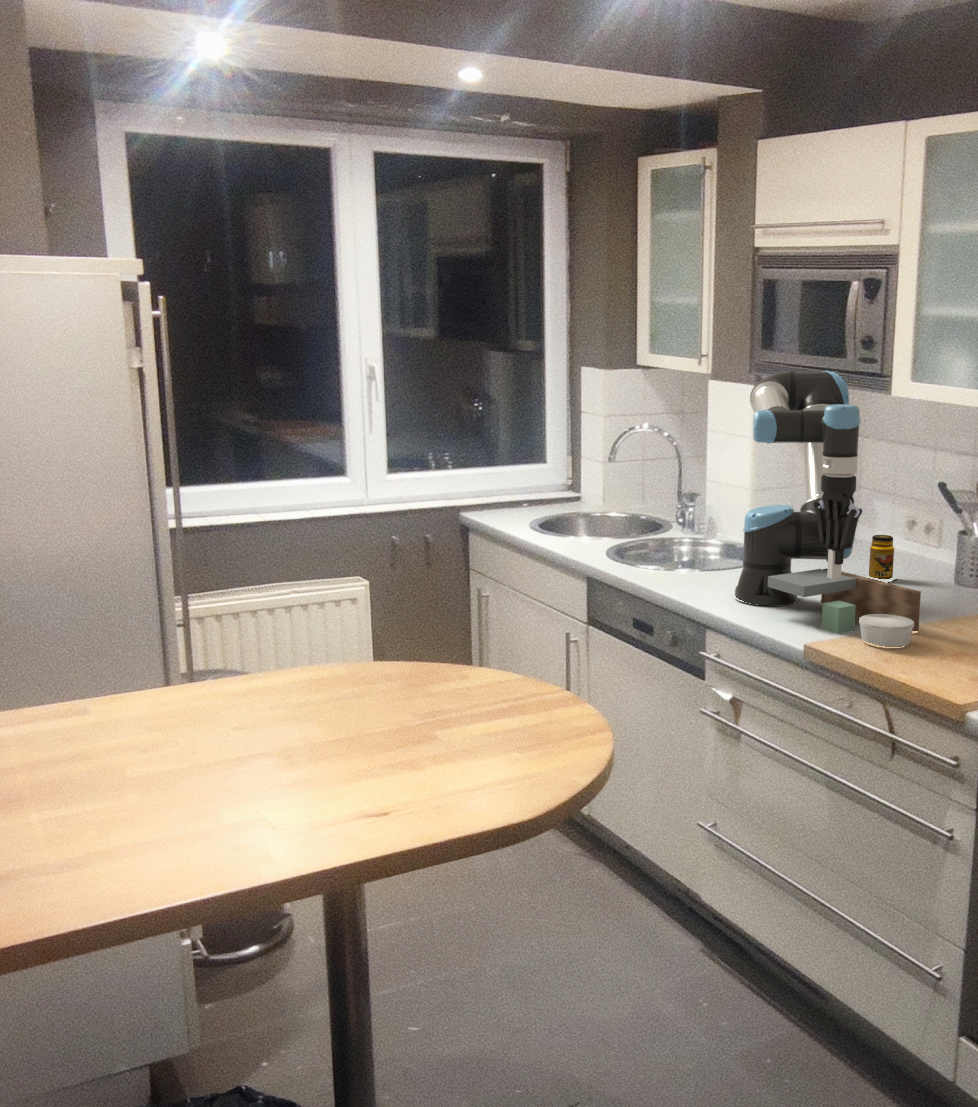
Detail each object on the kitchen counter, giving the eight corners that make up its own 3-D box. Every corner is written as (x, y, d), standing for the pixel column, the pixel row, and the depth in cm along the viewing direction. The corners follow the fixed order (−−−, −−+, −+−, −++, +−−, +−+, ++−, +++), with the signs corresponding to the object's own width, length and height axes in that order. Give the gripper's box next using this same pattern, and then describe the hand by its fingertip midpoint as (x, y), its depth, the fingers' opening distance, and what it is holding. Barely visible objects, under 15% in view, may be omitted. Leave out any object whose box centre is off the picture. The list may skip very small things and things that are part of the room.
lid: (767, 586, 260) (768, 576, 260) (819, 578, 267) (819, 568, 267) (803, 597, 250) (803, 586, 249) (856, 588, 257) (856, 578, 256)
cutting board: (820, 607, 268) (822, 569, 266) (827, 606, 269) (828, 568, 267) (911, 634, 244) (914, 592, 242) (918, 633, 245) (920, 591, 243)
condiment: (886, 584, 291) (889, 539, 289) (856, 579, 297) (858, 535, 294) (898, 579, 296) (901, 535, 294) (868, 575, 302) (870, 531, 299)
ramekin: (896, 635, 244) (898, 612, 243) (923, 649, 233) (924, 625, 232) (848, 638, 242) (849, 614, 241) (873, 652, 232) (874, 628, 230)
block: (821, 629, 250) (822, 603, 249) (838, 626, 252) (839, 600, 251) (837, 634, 245) (838, 607, 244) (854, 631, 248) (855, 605, 246)
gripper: (805, 472, 251) (801, 573, 256) (847, 479, 240) (842, 585, 245) (830, 469, 254) (825, 569, 259) (873, 476, 243) (867, 581, 248)
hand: (833, 577), depth 252 cm, fingers closed
